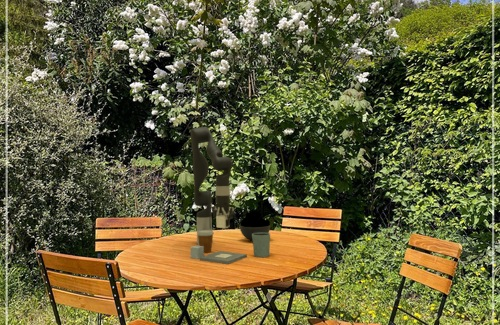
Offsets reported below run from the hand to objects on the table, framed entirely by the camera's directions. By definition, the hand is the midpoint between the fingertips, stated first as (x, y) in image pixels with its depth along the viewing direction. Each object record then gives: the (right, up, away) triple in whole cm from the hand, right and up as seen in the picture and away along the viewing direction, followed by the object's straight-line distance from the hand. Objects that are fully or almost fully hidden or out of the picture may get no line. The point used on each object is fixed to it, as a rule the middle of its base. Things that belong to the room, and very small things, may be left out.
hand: (223, 226), depth 232 cm
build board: (0, -17, 0) cm, 17 cm away
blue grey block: (-14, -18, +3) cm, 23 cm away
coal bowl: (+18, -17, +49) cm, 55 cm away
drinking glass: (+21, -17, +6) cm, 28 cm away
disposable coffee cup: (-11, -18, +18) cm, 27 cm away
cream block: (0, 0, 0) cm, 0 cm away
